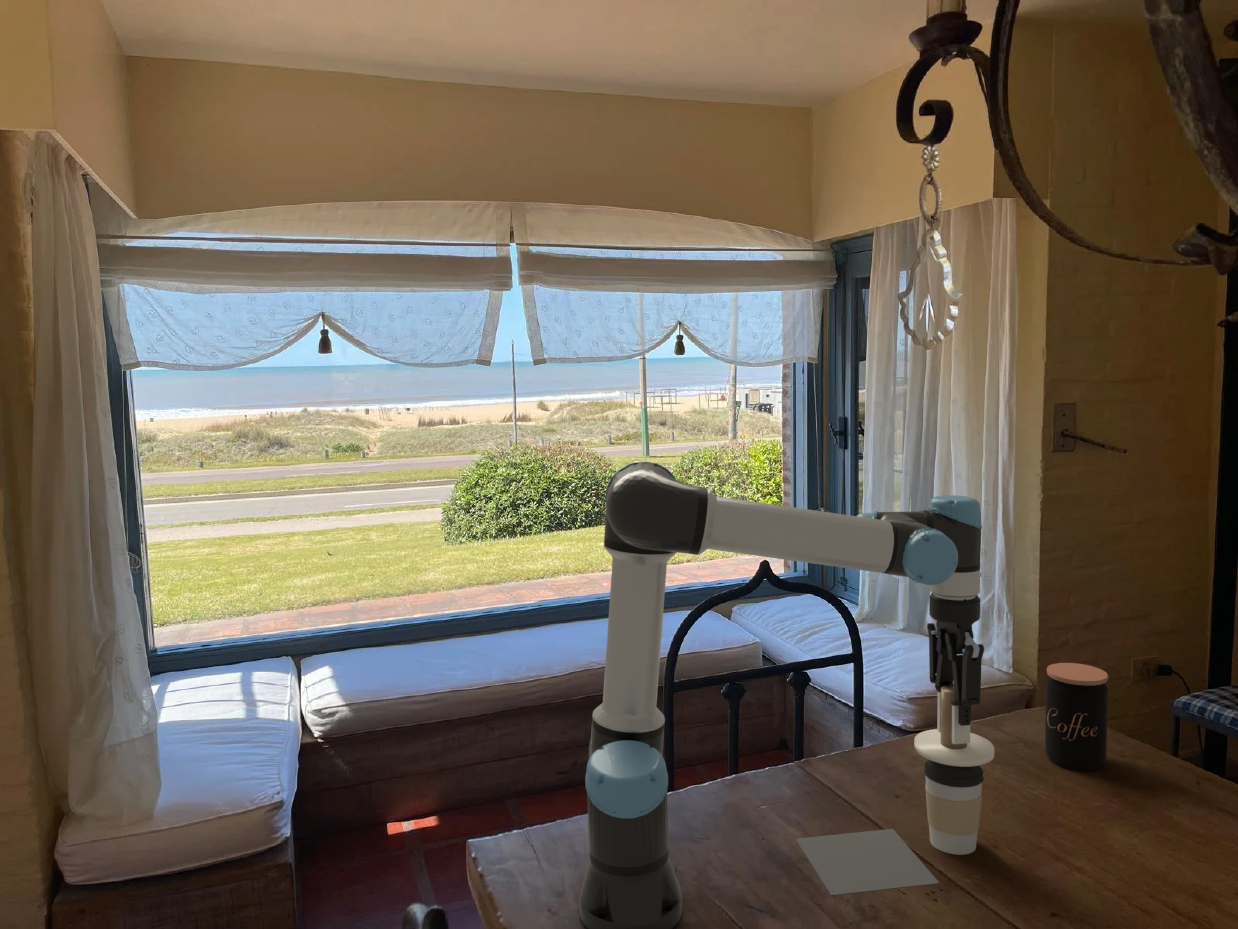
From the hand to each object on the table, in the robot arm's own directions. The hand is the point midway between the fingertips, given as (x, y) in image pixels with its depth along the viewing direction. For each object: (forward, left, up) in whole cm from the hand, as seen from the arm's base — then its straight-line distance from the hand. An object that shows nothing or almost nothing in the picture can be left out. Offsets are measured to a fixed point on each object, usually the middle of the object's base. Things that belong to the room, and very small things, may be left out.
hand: (953, 736), depth 140 cm
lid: (0, 0, -2) cm, 2 cm away
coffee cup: (0, 0, -19) cm, 19 cm away
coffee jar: (+39, +25, -19) cm, 50 cm away
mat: (-16, -2, -19) cm, 25 cm away
